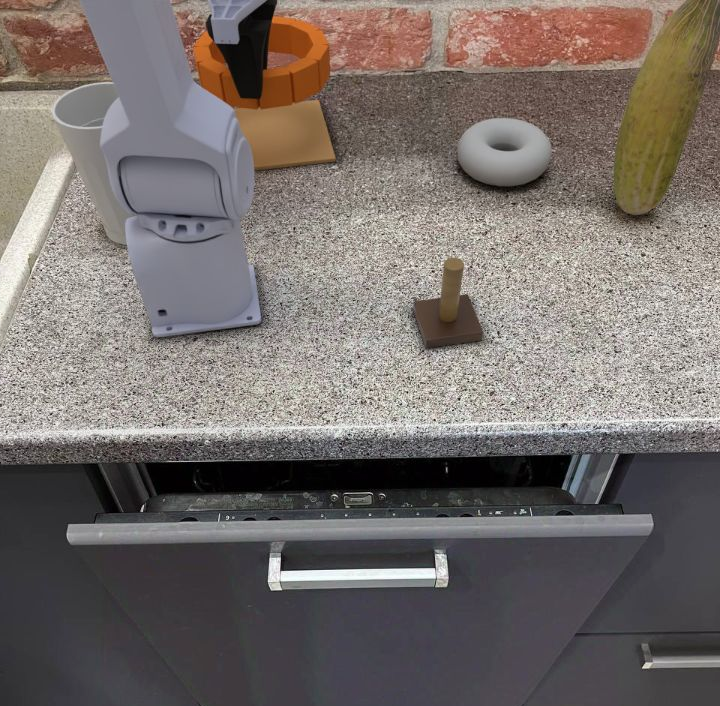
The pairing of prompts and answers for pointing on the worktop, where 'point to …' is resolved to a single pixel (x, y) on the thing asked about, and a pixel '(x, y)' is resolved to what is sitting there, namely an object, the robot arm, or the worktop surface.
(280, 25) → the ring
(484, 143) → the donut
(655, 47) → the vegetable
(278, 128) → the mat
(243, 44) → the robot arm
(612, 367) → the worktop surface
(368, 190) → the worktop surface
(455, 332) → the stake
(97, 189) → the cup
